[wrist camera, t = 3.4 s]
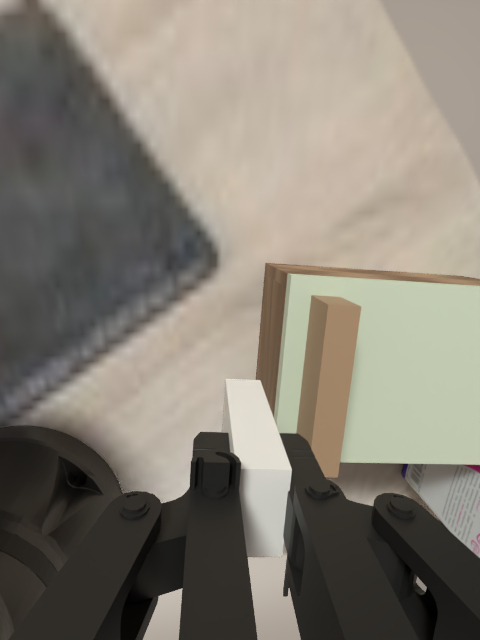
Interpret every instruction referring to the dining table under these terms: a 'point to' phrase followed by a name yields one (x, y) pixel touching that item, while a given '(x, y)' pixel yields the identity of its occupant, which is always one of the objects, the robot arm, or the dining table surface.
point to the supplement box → (450, 497)
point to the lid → (380, 370)
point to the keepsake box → (276, 302)
